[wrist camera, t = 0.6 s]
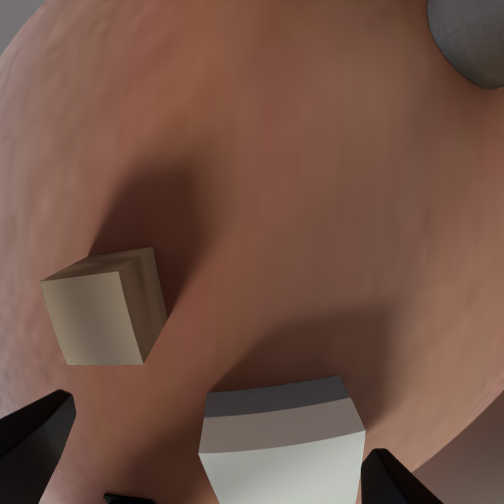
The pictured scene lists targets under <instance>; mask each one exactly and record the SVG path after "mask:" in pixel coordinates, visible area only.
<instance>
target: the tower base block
mask: <svg viewBox="0 0 504 504" xmlns="http://www.w3.org/2000/svg"><path fill="white" fill-rule="evenodd" d="M346 398H350V397H349V395H348V392H347V390H346V388H345V386H344V384H343V382H342V380H341V377H340V375H337V376H332V377H326V378H321V379H315V380H310V381H304V382H298V383H291V384H284V385H277V386H270V387H262V388H254V389H245V390H235V391H225V392H212V393H207V398H206V404H205V410H204V416H203V418H211V417H225V416H237V415H247V414H256V413H264V412H272V411H279V410H286V409H293V408H299V407H305V406H310V405H316V404H321V403H326V402H331V401H336V400H341V399H346Z"/></svg>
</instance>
